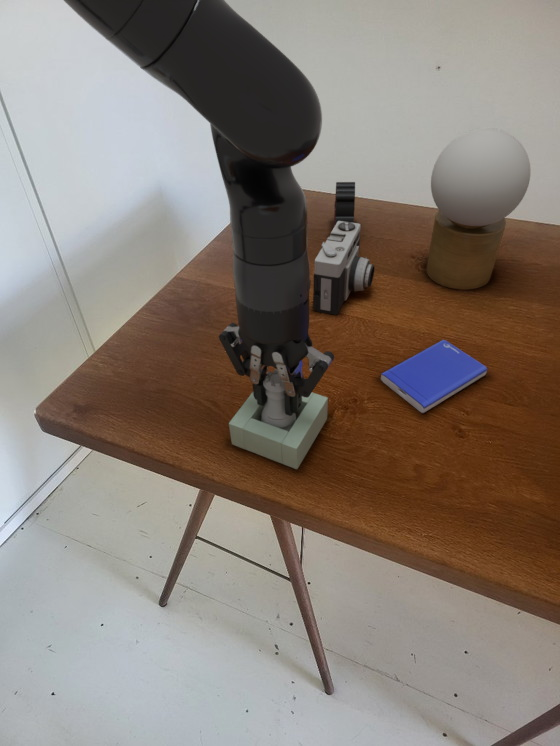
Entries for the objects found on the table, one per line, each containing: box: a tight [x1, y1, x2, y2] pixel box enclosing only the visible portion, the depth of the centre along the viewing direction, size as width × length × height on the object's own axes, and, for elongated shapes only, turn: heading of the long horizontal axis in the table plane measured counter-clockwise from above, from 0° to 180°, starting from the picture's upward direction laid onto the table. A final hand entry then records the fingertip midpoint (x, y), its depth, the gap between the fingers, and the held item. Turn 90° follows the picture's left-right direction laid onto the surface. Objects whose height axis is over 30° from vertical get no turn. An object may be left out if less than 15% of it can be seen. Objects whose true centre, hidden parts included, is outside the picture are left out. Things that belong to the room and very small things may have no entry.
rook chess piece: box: [261, 368, 296, 432], centre depth 63 cm, size 4×4×8 cm
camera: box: [312, 221, 375, 315], centre depth 86 cm, size 14×8×10 cm, turn 160°
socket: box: [228, 391, 329, 470], centre depth 66 cm, size 9×9×4 cm
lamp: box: [425, 127, 531, 291], centre depth 83 cm, size 15×14×25 cm
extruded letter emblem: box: [333, 181, 356, 228], centre depth 100 cm, size 18×4×11 cm, turn 176°
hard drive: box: [380, 339, 488, 414], centre depth 73 cm, size 2×8×12 cm
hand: (278, 405), depth 64 cm, fingers closed on rook chess piece, 3 cm apart
